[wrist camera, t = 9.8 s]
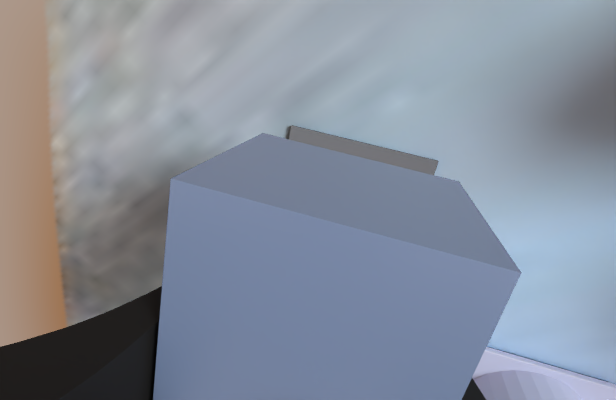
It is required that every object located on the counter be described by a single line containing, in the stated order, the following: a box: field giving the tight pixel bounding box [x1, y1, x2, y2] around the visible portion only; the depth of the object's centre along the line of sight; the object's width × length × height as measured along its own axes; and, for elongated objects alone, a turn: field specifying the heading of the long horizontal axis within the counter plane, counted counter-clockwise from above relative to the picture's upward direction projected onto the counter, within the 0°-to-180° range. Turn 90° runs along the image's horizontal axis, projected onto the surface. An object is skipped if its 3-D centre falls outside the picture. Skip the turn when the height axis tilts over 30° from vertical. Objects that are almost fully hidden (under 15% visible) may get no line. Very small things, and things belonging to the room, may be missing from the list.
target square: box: [289, 125, 438, 175], centre depth 19 cm, size 7×7×1 cm
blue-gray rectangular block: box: [153, 133, 521, 400], centre depth 10 cm, size 9×6×5 cm
